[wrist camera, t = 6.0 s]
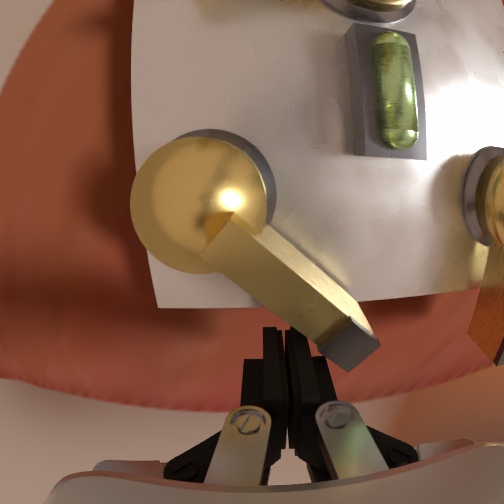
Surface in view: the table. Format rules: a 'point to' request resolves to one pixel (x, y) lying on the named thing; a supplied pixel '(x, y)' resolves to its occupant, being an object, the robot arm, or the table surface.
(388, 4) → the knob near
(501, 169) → the knob
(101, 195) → the table surface
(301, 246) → the base plate
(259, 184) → the knob
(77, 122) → the table surface
